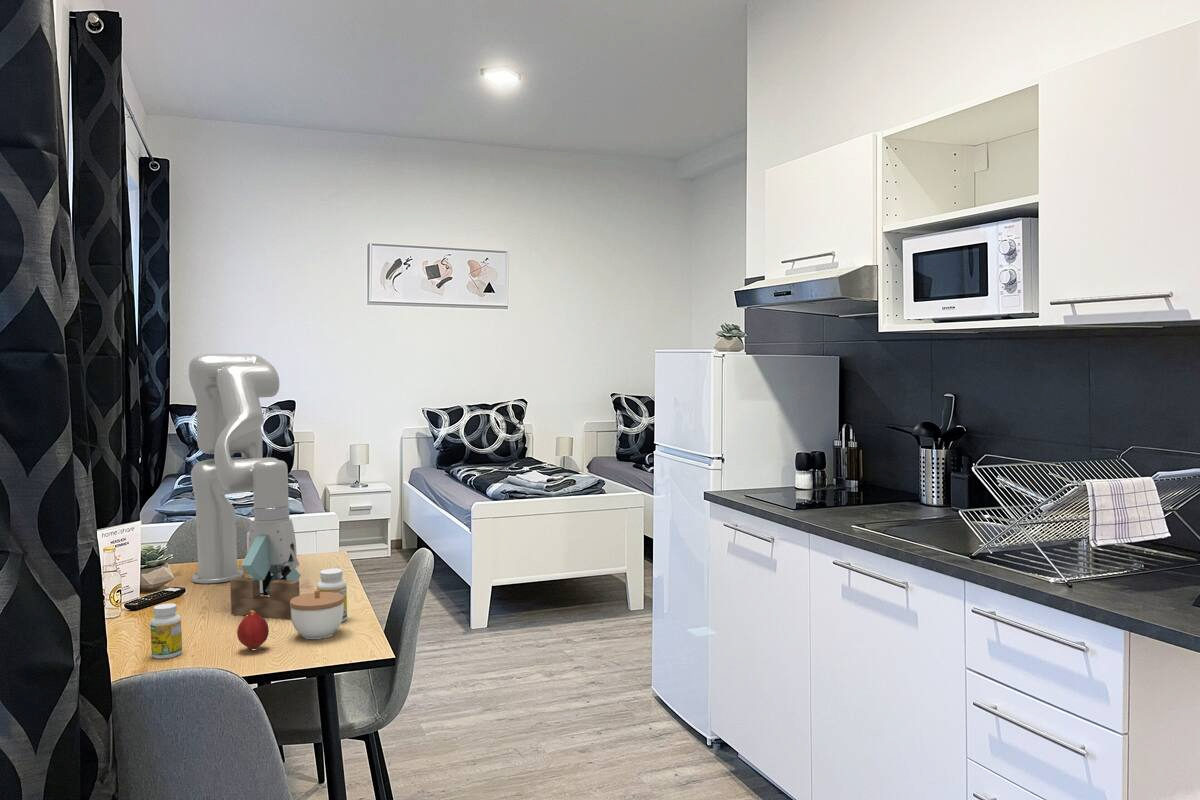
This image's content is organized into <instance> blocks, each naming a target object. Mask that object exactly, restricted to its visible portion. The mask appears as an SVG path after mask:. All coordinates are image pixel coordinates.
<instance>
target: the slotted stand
mask: <svg viewBox="0 0 1200 800" xmlns="http://www.w3.org/2000/svg"><path fill="white" fill-rule="evenodd" d="M229 582H230V584H229V585H230V611H231V612H230V614H234V615H233V616H237V615H249V613H248V612H250V611H251V610H254V611H255V612H256V613H257V614H258V615H260V616H262V617H263V618H265V617H271V618H270V619H278V618H282V619H281V620H292V619H291V607H290V600H291V599H292V598H294V597H297V596H299V595H301V594H300V592H301V591H300V580H298V581H292V580H274V581H272V582H270V596H268V595H267V596H264V595H261V594H260V580H254V579H253V578H251V577H244V576H243V577H237V578H234V579H231V580H230V581H229Z"/></svg>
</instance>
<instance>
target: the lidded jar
mask: <svg viewBox="0 0 1200 800" xmlns="http://www.w3.org/2000/svg"><path fill="white" fill-rule="evenodd" d="M290 607H291V619H290V620H291V621H292V625H293V628H294V629H295V631H296V632H297V633H298V634H299V635H301V636H302V638H303V639H304V638H305V639H304V640H308V639H318V640H322V639H321V638H324V639H327V638H326V637H328V638H330V637H329V636H331V635H332V636H334V633H335V632H336V631H337V630H338V629H339V628H340V625H341V624H342V622H341V621H342V618H343V612H344V596H343V595H342V594H340V593H335V592H320V590H317V589H316V590H315V589H314V592H309V593H303V594H300V595H299V596H297V597H294V598H292V599H291V600H290ZM332 636H331V637H332Z"/></svg>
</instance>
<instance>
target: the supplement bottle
mask: <svg viewBox="0 0 1200 800" xmlns="http://www.w3.org/2000/svg"><path fill="white" fill-rule="evenodd" d="M177 610H178V609H177V604H176V603H162V604H158V605H154V607H153V615H154V616H153V618H151V620H150V622H149V623H150V625H149V626H150V647H151V648H150V649H151V656H152V657H153V659H157V660H162V659H171V658H174V657H177V656H179V655H181V654H182V652H183V633H182V617H181V616H180V615H179V614H178V613H177Z"/></svg>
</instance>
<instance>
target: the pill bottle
mask: <svg viewBox="0 0 1200 800" xmlns="http://www.w3.org/2000/svg"><path fill="white" fill-rule="evenodd" d="M319 574H320V575H319V577H320V581H319V582H317V585H316V590H320V592H335V593H340V594H342V595H343V596H344V612H343V618H342V621H341V623H344V622H345V621H346V620H347V619H348V597H347V596H348V595H347V592H348V591H347V582H346V581H345V579H343V578H342V577H343V569H341V568H326V569H322V570H321V571H320V572H319Z"/></svg>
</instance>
